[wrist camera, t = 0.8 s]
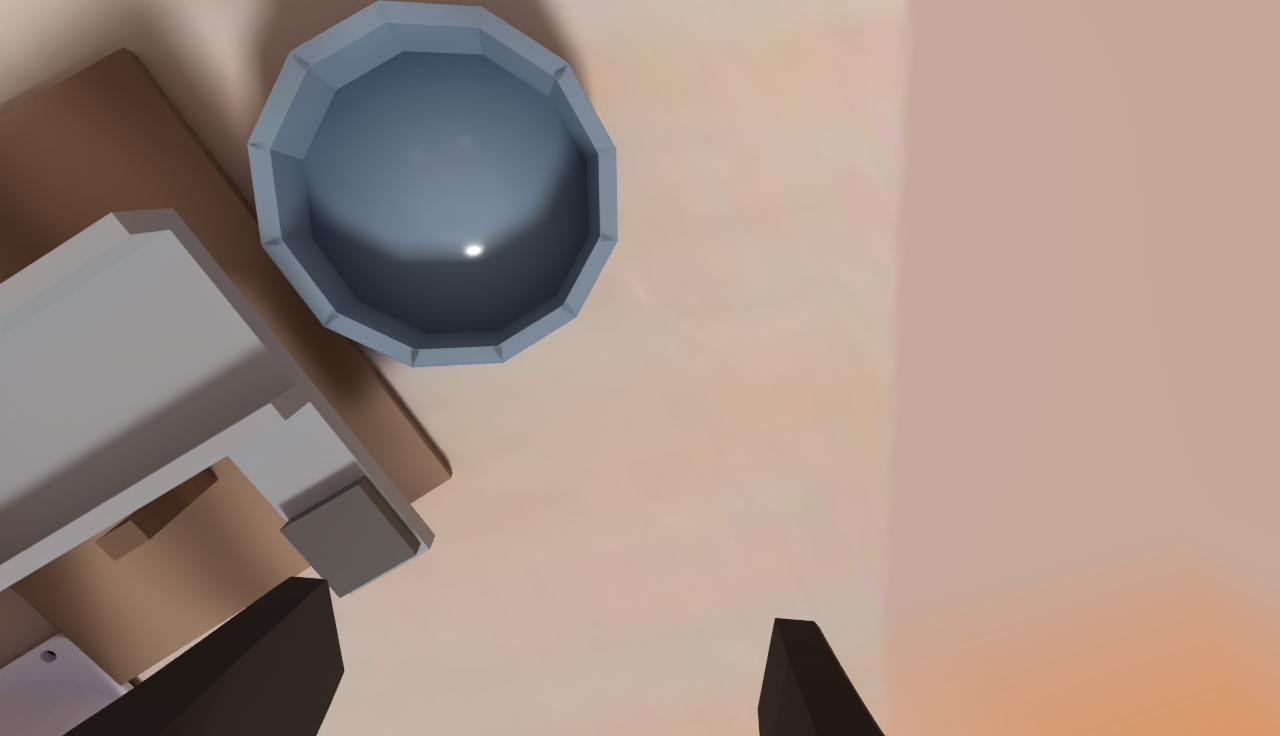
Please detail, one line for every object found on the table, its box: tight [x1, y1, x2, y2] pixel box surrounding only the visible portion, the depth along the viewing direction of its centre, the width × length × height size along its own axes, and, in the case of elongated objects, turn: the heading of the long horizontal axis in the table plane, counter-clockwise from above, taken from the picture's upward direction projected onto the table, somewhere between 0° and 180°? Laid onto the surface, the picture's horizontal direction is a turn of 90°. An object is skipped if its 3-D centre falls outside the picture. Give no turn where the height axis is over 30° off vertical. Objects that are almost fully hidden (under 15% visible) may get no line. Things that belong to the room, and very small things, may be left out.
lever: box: [0, 208, 435, 598], centre depth 18 cm, size 15×12×2 cm
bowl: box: [247, 0, 618, 367], centre depth 22 cm, size 11×11×4 cm
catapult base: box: [0, 48, 452, 686], centre depth 20 cm, size 15×18×5 cm
